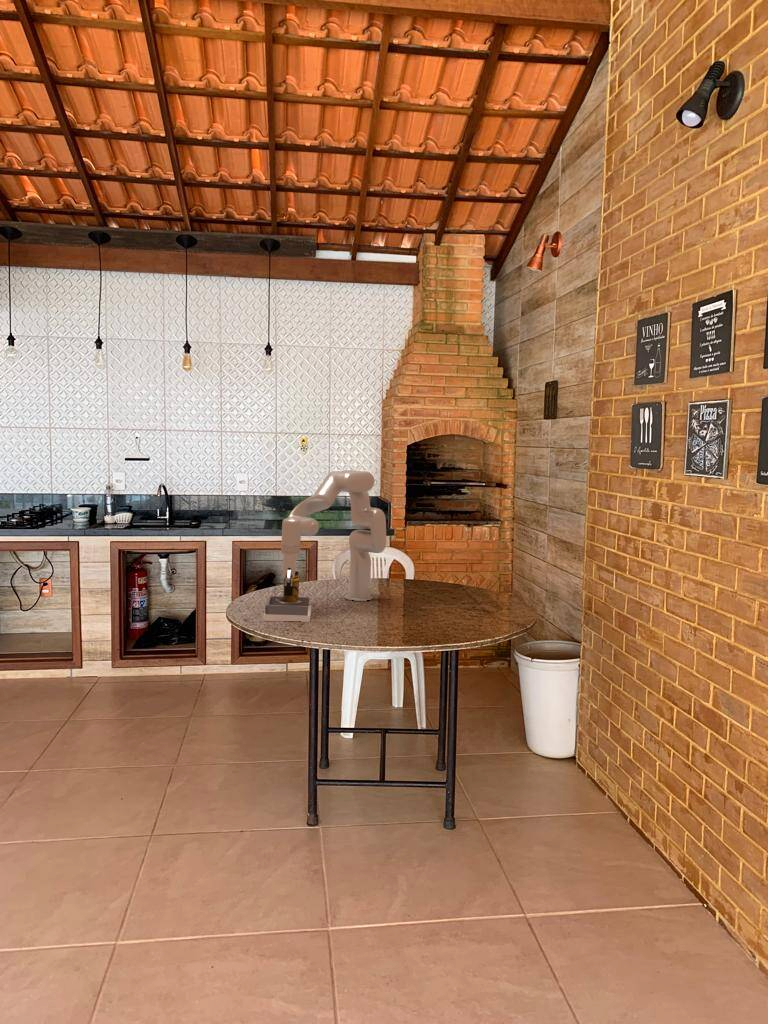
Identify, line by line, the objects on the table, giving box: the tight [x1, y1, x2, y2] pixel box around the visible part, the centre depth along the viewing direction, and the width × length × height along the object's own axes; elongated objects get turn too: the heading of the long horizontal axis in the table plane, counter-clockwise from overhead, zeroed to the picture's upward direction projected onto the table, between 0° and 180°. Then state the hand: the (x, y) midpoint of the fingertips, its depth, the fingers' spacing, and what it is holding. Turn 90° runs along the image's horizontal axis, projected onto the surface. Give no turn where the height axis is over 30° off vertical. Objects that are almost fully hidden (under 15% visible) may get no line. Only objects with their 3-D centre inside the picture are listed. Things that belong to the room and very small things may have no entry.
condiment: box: [275, 570, 301, 603], centre depth 278 cm, size 7×8×12 cm
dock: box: [262, 595, 312, 623], centre depth 279 cm, size 18×18×6 cm
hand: (288, 593), depth 278 cm, fingers closed on condiment, 6 cm apart
